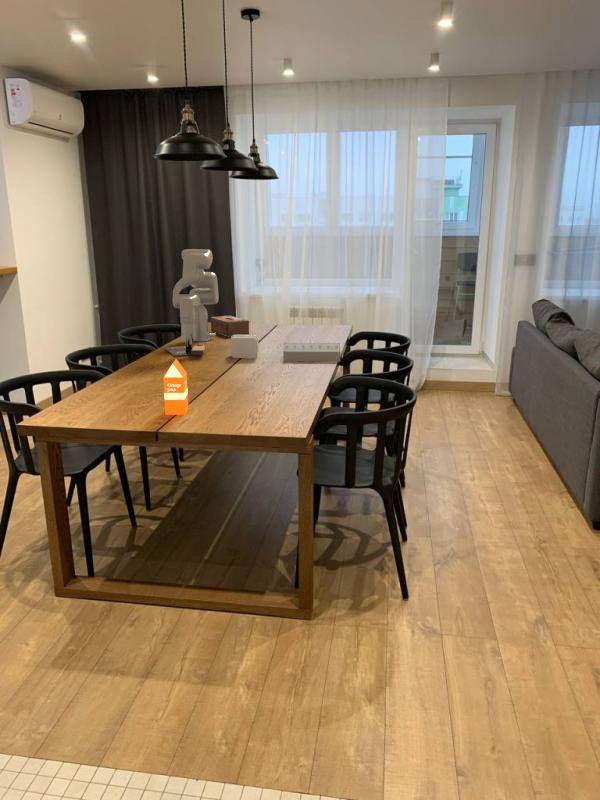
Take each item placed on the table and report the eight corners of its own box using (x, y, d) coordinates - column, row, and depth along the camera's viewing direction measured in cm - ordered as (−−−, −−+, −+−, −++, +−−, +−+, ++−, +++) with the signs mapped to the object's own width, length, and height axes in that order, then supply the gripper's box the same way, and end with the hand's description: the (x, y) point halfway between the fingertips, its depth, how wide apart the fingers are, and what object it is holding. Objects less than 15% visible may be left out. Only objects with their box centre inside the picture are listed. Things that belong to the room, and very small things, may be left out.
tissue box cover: (249, 335, 404) (248, 320, 401) (229, 338, 396) (228, 322, 393) (230, 330, 424) (230, 315, 421) (211, 332, 416) (210, 317, 414)
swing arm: (194, 347, 350) (194, 343, 350) (206, 347, 351) (205, 343, 350) (190, 354, 333) (190, 349, 333) (203, 353, 334) (202, 349, 333)
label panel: (195, 346, 366) (194, 342, 365) (206, 354, 345) (206, 350, 344) (164, 349, 359) (164, 345, 358) (174, 357, 338) (174, 352, 337)
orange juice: (188, 408, 247) (186, 358, 241) (185, 414, 238) (183, 363, 233) (168, 408, 246) (166, 358, 241) (164, 414, 238) (162, 363, 232)
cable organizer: (229, 359, 335) (228, 337, 332) (231, 355, 345) (231, 334, 342) (257, 359, 335) (257, 337, 331) (258, 355, 345) (258, 334, 342)
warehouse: (283, 362, 330) (283, 348, 328) (284, 356, 344) (284, 342, 341) (340, 362, 329) (340, 348, 327) (339, 356, 343) (339, 343, 341)
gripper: (177, 318, 338) (179, 351, 343) (183, 322, 325) (185, 357, 330) (191, 317, 341) (192, 350, 346) (198, 321, 328) (199, 356, 333)
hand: (189, 353), depth 338 cm, fingers closed
